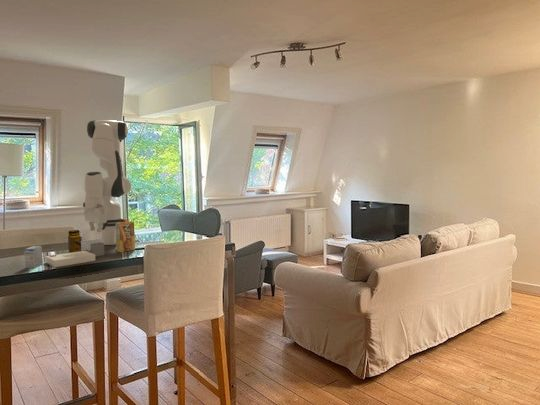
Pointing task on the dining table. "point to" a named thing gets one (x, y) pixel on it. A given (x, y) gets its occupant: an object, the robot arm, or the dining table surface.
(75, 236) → the condiment
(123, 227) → the candy box
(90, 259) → the socket
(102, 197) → the robot arm
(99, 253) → the plug
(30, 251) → the medicine box
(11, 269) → the dining table surface
